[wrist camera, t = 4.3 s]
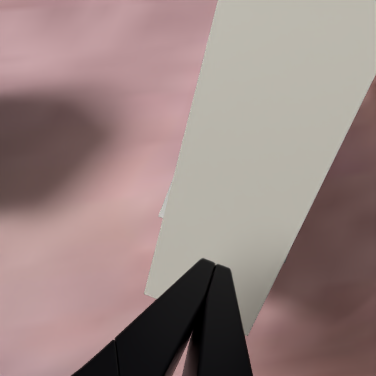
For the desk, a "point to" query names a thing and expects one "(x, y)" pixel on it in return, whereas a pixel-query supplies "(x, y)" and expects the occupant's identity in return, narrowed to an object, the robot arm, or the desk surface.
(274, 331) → the desk surface
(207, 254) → the cream block
